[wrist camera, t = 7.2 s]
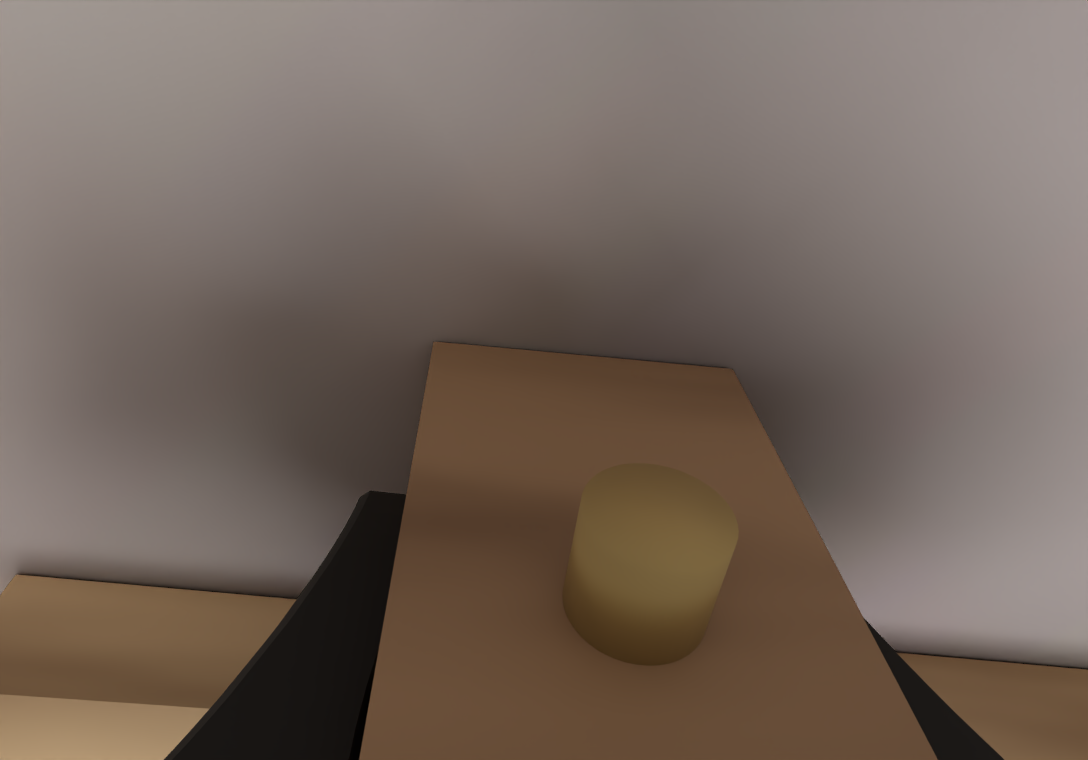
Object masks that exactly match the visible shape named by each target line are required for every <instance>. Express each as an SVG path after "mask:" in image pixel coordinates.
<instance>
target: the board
mask: <svg viewBox="0 0 1088 760" xmlns="http://www.w3.org/2000/svg"><path fill="white" fill-rule="evenodd" d="M296 600H297V599H286V598H275V597H263V596H252V595H241V594H229V593H218V592H207V591H196V590H184V589H173V588H162V587H151V586H139V585H128V584H117V583H106V582H94V581H83V580H72V579H61V578H49V577H38V576H27V575H15V577H14V578H13V579H12V580H11V582H10V583H9V584H8V586H7V587H6V588H5V590H4V591H3V592H2V593H1V595H0V760H164V759H165V758H166V757H167V756H168V754H169V753H170V752H171V751H172V750H173V749H174V748H175V747H176V746H177V745H178V744H179V743H180V741H181V740H182V739H183V738H184V737H185V736H186V735H187V734H188V733H189V732H190V730H191V729H192V728H193V727H194V726H195V725H196V724H197V723H198V721H199V720H200V719H201V718H202V717H203V716H204V715H205V713H206V712H207V711H208V710H209V709H210V708H211V707H212V705H213V704H214V703H215V702H216V701H217V700H218V699H219V697H220V696H221V695H222V694H223V693H224V691H225V690H226V689H227V688H228V686H229V685H230V684H231V683H232V682H233V680H234V679H235V678H236V677H237V675H238V674H239V673H240V672H241V671H242V669H243V668H244V667H245V666H246V664H247V663H248V662H249V661H250V660H251V658H252V657H253V656H254V655H255V653H256V652H257V651H258V650H259V648H260V647H261V646H262V645H263V644H264V642H265V641H266V640H267V639H268V637H269V636H270V635H271V634H272V632H273V631H274V630H275V628H276V627H277V626H278V624H279V623H280V622H281V620H282V619H283V618H284V616H285V615H286V614H287V612H288V611H289V609H290V608H291V607H292V605H293V604H294V602H295V601H296ZM897 654H898V655H899V656H900V657H901V658H902V659H903V660H904V661H905V662H906V663H907V664H908V665H909V666H910V667H911V668H912V669H913V670H914V671H915V672H916V673H917V674H918V675H919V676H920V677H921V678H922V680H923V681H924V682H925V683H926V684H927V685H928V686H929V687H930V688H931V689H932V690H933V691H934V692H935V693H936V694H937V695H938V696H939V697H940V698H941V699H942V700H943V701H944V702H945V703H946V704H947V705H948V706H949V707H950V708H951V709H952V710H953V711H954V712H955V713H956V714H957V715H958V716H959V717H961V718H962V719H963V720H964V721H965V722H966V723H967V724H968V725H969V726H970V727H971V728H972V729H973V730H974V731H975V732H976V733H977V734H978V735H979V736H980V737H981V738H982V739H984V740H985V741H986V742H987V743H988V744H989V745H990V746H991V747H992V748H993V749H994V750H995V751H996V752H997V753H998V754H999V755H1000V756H1001V757H1002V758H1003V759H1004V760H1088V670H1085V669H1074V668H1063V667H1052V666H1040V665H1029V664H1018V663H1007V662H995V661H984V660H973V659H962V658H950V657H939V656H928V655H916V654H905V653H897Z"/></svg>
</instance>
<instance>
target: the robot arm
mask: <svg viewBox="0 0 1088 760" xmlns="http://www.w3.org/2000/svg"><path fill="white" fill-rule="evenodd" d="M405 499H406V495H404V494H395V493H385V492H376V491H369V492H367V493H366V494H364V495H363V496H361V497H360V498H359V500H358V503H357V505H356V507H355V509H354V511H353V513H352V515H351V517H350V518H349V520H348V522H347V524H346V526H345V527H344V529H343V531H342V533H341V534H340V536H339V538H338V539H337V541H336V542H335V544H334V546H333V547H332V549H331V550H330V552H329V553H328V555H327V557H326V558H325V560H324V561H323V563H322V564H321V566H320V567H319V569H318V570H317V572H316V573H315V575H314V576H313V578H312V579H311V580H310V582H309V583H308V584H307V586H306V587H305V589H304V590H303V591H302V593H301V594H300V596H299V597H298V598H297V600H296V601H295V602H294V604H293V605H292V607H291V608H290V609H289V611H288V612H287V614H286V615H285V616H284V618H283V619H282V620H281V622H280V623H279V624H278V626H277V627H276V628H275V630H274V631H273V632H272V634H271V635H270V636H269V637H268V639H267V640H266V641H265V642H264V644H263V645H262V646H261V647H260V648H259V650H258V651H257V652H256V653H255V655H254V656H253V657H252V658H251V660H250V661H249V662H248V663H247V664H246V666H245V667H244V668H243V669H242V671H241V672H240V673H239V674H238V675H237V677H236V678H235V679H234V680H233V682H232V683H231V684H230V685H229V686H228V688H227V689H226V690H225V691H224V693H223V694H222V695H221V696H220V697H219V699H218V700H217V701H216V702H215V703H214V704H213V705H212V707H211V708H210V709H209V710H208V711H207V712H206V713H205V715H204V716H203V717H202V718H201V719H200V720H199V721H198V723H197V724H196V725H195V726H194V727H193V728H192V729H191V730H190V732H189V733H188V734H187V735H186V736H185V737H184V738H183V739H182V740H181V741H180V743H179V744H178V745H177V746H176V747H175V748H174V749H173V750H172V751H171V752H170V753H169V754H168V756H167V757H166V758H165V759H164V760H359V758H360V752H361V746H362V741H363V735H364V730H365V724H366V718H367V713H368V707H369V701H370V696H371V690H372V685H373V679H374V673H375V668H376V662H377V656H378V651H379V645H380V640H381V634H382V628H383V623H384V617H385V612H386V606H387V600H388V595H389V589H390V583H391V578H392V572H393V567H394V561H395V555H396V550H397V544H398V538H399V533H400V527H401V522H402V516H403V510H404V505H405ZM864 620H865V619H864ZM865 622H866V624H867V626H868V628H869V630H870V631H871V633H872V635H873V637H874V639H875V641H876V643H877V645H878V647H879V649H880V651H881V652H882V654H883V656H884V658H885V660H886V662H887V664H888V666H889V668H890V670H891V671H892V673H893V675H894V677H895V679H896V681H897V683H898V685H899V687H900V689H901V691H902V692H903V694H904V696H905V698H906V700H907V702H908V704H909V706H910V708H911V710H912V711H913V713H914V715H915V717H916V719H917V721H918V723H919V725H920V727H921V729H922V731H923V732H924V734H925V736H926V738H927V740H928V742H929V744H930V746H931V748H932V750H933V751H934V753H935V755H936V757H937V759H938V760H1004V759H1003V758H1002V757H1001V756H1000V755H999V754H998V753H997V752H996V751H995V750H994V749H993V748H992V747H991V746H990V745H989V744H988V743H987V742H986V741H985V740H984V739H982V738H981V737H980V736H979V735H978V734H977V733H976V732H975V731H974V730H973V729H972V728H971V727H970V726H969V725H968V724H967V723H966V722H965V721H964V720H963V719H962V718H961V717H959V716H958V715H957V714H956V713H955V712H954V711H953V710H952V709H951V708H950V707H949V706H948V705H947V704H946V703H945V702H944V701H943V700H942V699H941V698H940V697H939V696H938V695H937V694H936V693H935V692H934V691H933V690H932V689H931V688H930V687H929V686H928V685H927V684H926V683H925V682H924V681H923V680H922V678H921V677H920V676H919V675H918V674H917V673H916V672H915V671H914V670H913V669H912V668H911V667H910V666H909V665H908V664H907V663H906V662H905V661H904V660H903V659H902V658H901V657H900V656H899V655H898V654H897V653H896V652H895V651H894V650H893V648H892V647H891V646H890V645H889V644H888V643H887V642H886V641H885V640H884V639H883V638H882V637H881V636H880V635H879V634H878V633H877V632H876V630H875V629H874V628H873V627H872V626H871V625H870V624H869V623H868V622H867V621H866V620H865Z"/></svg>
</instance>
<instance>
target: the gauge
mask: <svg viewBox="0 0 1088 760" xmlns="http://www.w3.org/2000/svg"><path fill="white" fill-rule="evenodd" d="M359 760H938V759H937V757H936V755H935V753H934V751H933V750H932V748H931V746H930V744H929V742H928V740H927V738H926V736H925V734H924V732H923V731H922V729H921V727H920V725H919V723H918V721H917V719H916V717H915V715H914V713H913V711H912V710H911V708H910V706H909V704H908V702H907V700H906V698H905V696H904V694H903V692H902V691H901V689H900V687H899V685H898V683H897V681H896V679H895V677H894V675H893V673H892V671H891V670H890V668H889V666H888V664H887V662H886V660H885V658H884V656H883V654H882V652H881V651H880V649H879V647H878V645H877V643H876V641H875V639H874V637H873V635H872V633H871V631H870V630H869V628H868V626H867V624H866V622H865V620H864V618H863V616H862V614H861V612H860V611H859V609H858V607H857V605H856V603H855V601H854V599H853V597H852V595H851V593H850V591H849V590H848V588H847V586H846V584H845V582H844V580H843V578H842V576H841V574H840V572H839V571H838V569H837V567H836V565H835V563H834V561H833V559H832V557H831V555H830V553H829V551H828V550H827V548H826V546H825V544H824V542H823V540H822V538H821V536H820V534H819V532H818V531H817V529H816V527H815V525H814V523H813V521H812V519H811V517H810V515H809V513H808V511H807V510H806V508H805V506H804V504H803V502H802V500H801V498H800V496H799V494H798V492H797V491H796V489H795V487H794V485H793V483H792V481H791V479H790V477H789V475H788V473H787V471H786V470H785V468H784V466H783V464H782V462H781V460H780V458H779V456H778V454H777V452H776V451H775V449H774V447H773V445H772V443H771V441H770V439H769V437H768V435H767V433H766V432H765V430H764V428H763V426H762V424H761V422H760V420H759V418H758V416H757V414H756V412H755V411H754V409H753V407H752V405H751V403H750V401H749V399H748V397H747V395H746V393H745V392H744V390H743V388H742V386H741V384H740V382H739V380H738V378H737V376H736V374H735V372H734V371H733V369H728V368H717V367H706V366H695V365H684V364H673V363H662V362H651V361H640V360H630V359H619V358H608V357H597V356H586V355H575V354H564V353H553V352H542V351H531V350H521V349H510V348H499V347H488V346H477V345H466V344H455V343H444V342H433V347H432V353H431V359H430V364H429V370H428V375H427V381H426V387H425V392H424V398H423V404H422V409H421V415H420V420H419V426H418V432H417V437H416V443H415V449H414V454H413V460H412V465H411V471H410V477H409V482H408V488H407V494H406V499H405V505H404V510H403V516H402V522H401V527H400V533H399V538H398V544H397V550H396V555H395V561H394V567H393V572H392V578H391V583H390V589H389V595H388V600H387V606H386V612H385V617H384V623H383V628H382V634H381V640H380V645H379V651H378V656H377V662H376V668H375V673H374V679H373V685H372V690H371V696H370V701H369V707H368V713H367V718H366V724H365V730H364V735H363V741H362V746H361V752H360V758H359Z"/></svg>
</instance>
